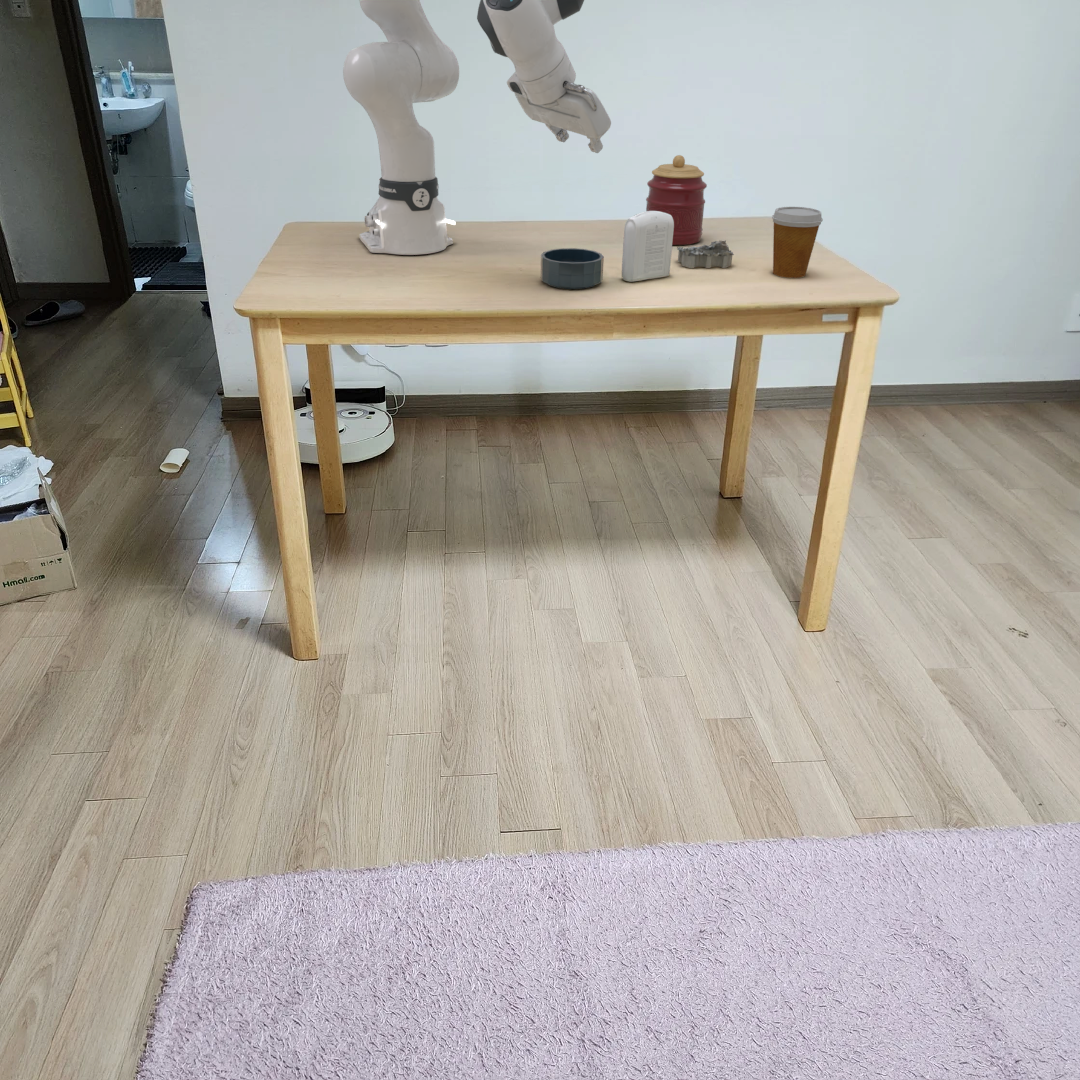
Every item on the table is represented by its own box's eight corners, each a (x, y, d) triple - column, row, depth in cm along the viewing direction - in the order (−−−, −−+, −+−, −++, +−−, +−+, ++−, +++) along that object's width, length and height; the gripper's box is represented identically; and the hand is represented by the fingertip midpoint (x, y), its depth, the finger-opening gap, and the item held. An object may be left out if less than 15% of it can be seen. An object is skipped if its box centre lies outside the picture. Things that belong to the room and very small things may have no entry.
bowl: (529, 278, 179) (530, 252, 177) (580, 271, 185) (581, 245, 182) (561, 293, 171) (562, 266, 168) (613, 285, 176) (615, 258, 173)
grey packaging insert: (725, 260, 195) (728, 239, 193) (733, 269, 188) (736, 248, 186) (675, 259, 194) (676, 239, 192) (681, 268, 188) (683, 247, 186)
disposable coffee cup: (815, 270, 188) (825, 208, 182) (811, 282, 180) (821, 217, 174) (767, 266, 190) (776, 204, 184) (761, 277, 183) (769, 213, 176)
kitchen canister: (632, 240, 209) (638, 155, 200) (660, 230, 218) (666, 149, 209) (685, 248, 202) (692, 161, 193) (711, 238, 212) (720, 154, 203)
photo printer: (658, 272, 185) (663, 206, 179) (673, 276, 182) (678, 210, 176) (617, 279, 180) (621, 212, 174) (631, 284, 177) (635, 216, 171)
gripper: (600, 74, 150) (631, 143, 161) (524, 56, 163) (557, 122, 174) (574, 101, 150) (606, 169, 160) (500, 81, 163) (534, 145, 173)
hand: (580, 144), depth 167 cm, fingers open, 8 cm apart
